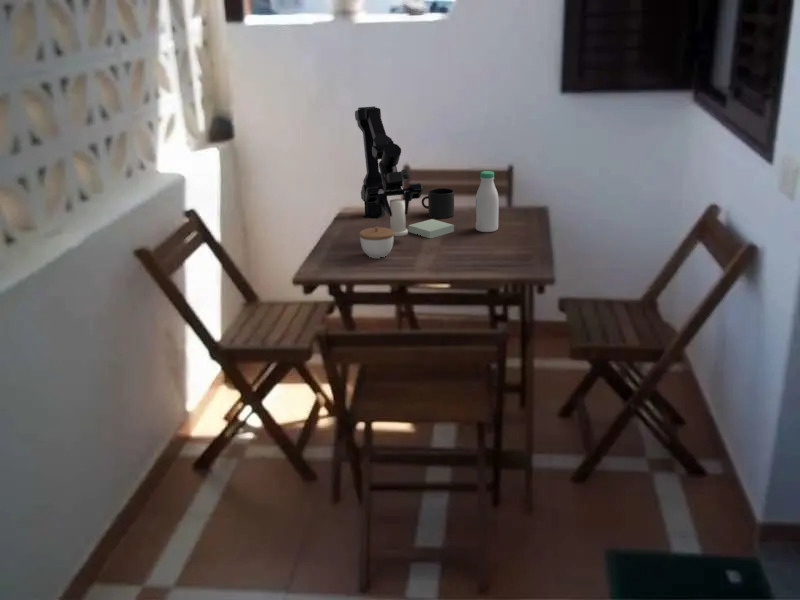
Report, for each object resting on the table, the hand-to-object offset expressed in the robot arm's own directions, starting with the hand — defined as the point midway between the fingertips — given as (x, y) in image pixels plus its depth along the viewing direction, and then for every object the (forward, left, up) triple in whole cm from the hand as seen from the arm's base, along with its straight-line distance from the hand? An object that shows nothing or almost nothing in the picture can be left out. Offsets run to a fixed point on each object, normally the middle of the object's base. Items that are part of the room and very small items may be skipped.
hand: (398, 215), depth 285 cm
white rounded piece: (-1, +1, -7) cm, 7 cm away
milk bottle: (+22, +24, -10) cm, 34 cm away
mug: (-1, +36, -10) cm, 37 cm away
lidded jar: (-1, -15, -10) cm, 18 cm away
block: (+5, +15, -9) cm, 19 cm away
